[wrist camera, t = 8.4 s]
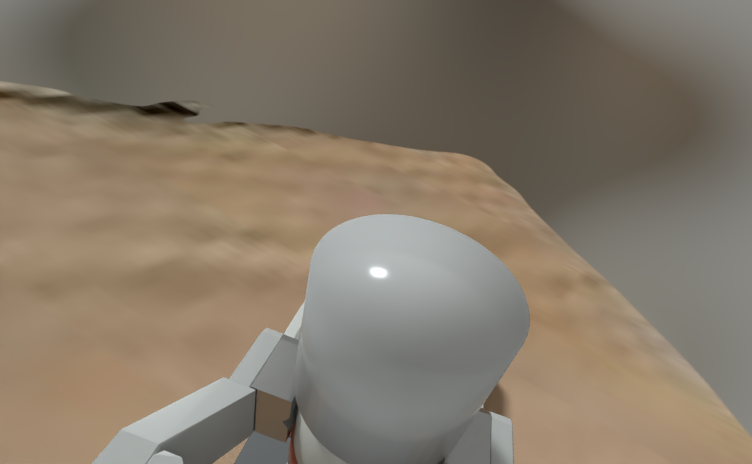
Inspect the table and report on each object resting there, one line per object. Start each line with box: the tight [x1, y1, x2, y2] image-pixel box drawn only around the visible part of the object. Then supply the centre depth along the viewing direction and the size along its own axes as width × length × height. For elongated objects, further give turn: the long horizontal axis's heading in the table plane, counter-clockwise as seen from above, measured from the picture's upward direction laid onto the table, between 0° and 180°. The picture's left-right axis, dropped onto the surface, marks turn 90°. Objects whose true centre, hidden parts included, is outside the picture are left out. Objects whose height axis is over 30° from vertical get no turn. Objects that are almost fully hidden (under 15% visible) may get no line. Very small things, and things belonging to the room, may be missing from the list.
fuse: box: [287, 214, 530, 464], centre depth 10 cm, size 4×4×12 cm
